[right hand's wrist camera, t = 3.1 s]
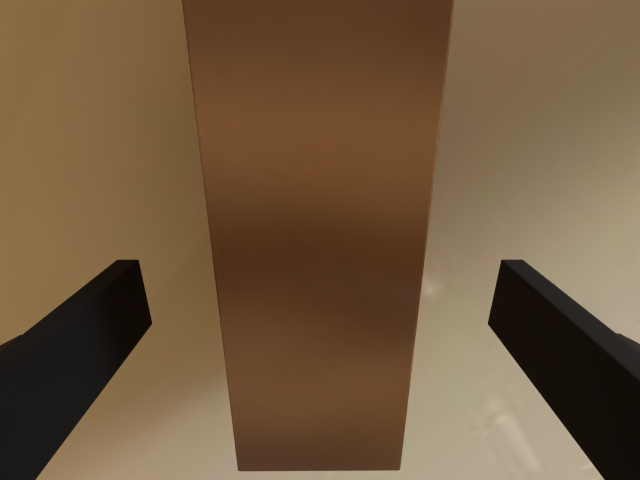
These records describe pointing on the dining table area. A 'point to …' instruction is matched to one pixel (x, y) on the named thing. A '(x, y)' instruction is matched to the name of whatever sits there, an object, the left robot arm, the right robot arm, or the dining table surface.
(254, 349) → the bar
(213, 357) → the dining table surface
